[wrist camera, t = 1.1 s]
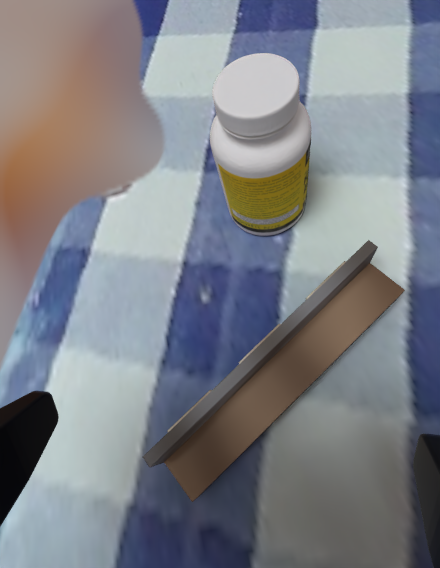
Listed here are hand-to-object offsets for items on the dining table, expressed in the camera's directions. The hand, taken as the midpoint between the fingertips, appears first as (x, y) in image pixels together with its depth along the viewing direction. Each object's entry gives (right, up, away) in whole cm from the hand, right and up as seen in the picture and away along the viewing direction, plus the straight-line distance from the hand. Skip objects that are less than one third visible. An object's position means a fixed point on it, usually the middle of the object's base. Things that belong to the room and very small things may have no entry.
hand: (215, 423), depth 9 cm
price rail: (+4, -2, +12) cm, 13 cm away
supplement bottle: (+3, +9, +17) cm, 19 cm away
